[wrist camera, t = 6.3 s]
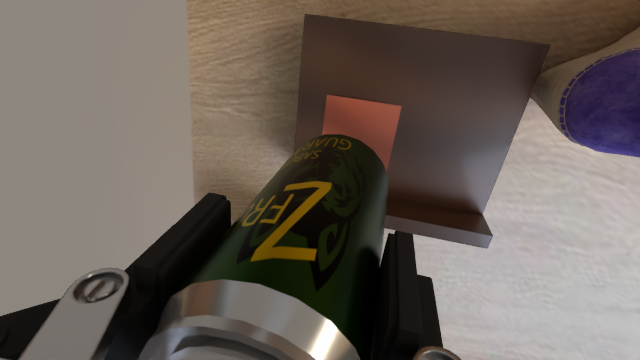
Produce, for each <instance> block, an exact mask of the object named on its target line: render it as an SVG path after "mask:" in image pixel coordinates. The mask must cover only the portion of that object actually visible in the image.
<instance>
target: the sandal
mask: <svg viewBox="0 0 640 360" xmlns="http://www.w3.org/2000/svg"><path fill="white" fill-rule="evenodd" d="M530 97H531V98H532V99H533V100H534V101H535V102H536V103H537V104H538V105H539V107H540V108H541V109H542V110H543V111H544V112H545V114H546V115H547V116H548V117H549V119H550V120H551V121H552V122H553V124H554V125H555V126H556V127H557V129H558V130H559V131H560V132H561V133H562V134H563V135H564V136H566V137H567V138H568V139H569V140H570V141H572V142H574V143H577V144H580V145H581V146H586V147H589V148H591V149H593V150H596V151H599V152H605V153H612V154H620V155H627V156H634V157H640V25H639V26H637V27H636V28H635V29H634V30H632V31H631V32H630V33H628V34H627V35H625V36H623V37H622V38H620V39H618V40H617V41H615V42H613V43H611V44H609V45H607V46H605V47H603V48H601V49H599V50H597V51H595V52H593V53H590V54H587V55H585V56H582V57H579V58H577V59H571V60H568V61H565V62H562V63H560V64H557V65H555V66H552V67H550V68H547V69H545V70H543V71H541V72H539V75H538V77H537V80H536V82H535V85H534V87H533V90H532V92H531V95H530Z"/></svg>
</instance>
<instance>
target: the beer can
mask: <svg viewBox="0 0 640 360" xmlns="http://www.w3.org/2000/svg"><path fill="white" fill-rule="evenodd" d="M387 196H388V176H387V173H386V170H385V166H384V163H383V162H382V161H381V159H380V158H379V157H378V155H377V154H376V153H375V151H374V150H373V149H371V148H370V147H369V146H367V145H366V144H364V143H363V142H362V141H360V140H358V139H355V138H352V137H349V136H346V135H343V134H325V135H321V136H318V137H315V138H312V139H310V140H308V141H307V142H306V143H304V144H303V145H301V146H300V147H299V148H298V149H297V150H296V151H295V152H294V153H293V155H292V156H291V157H290V158H289V159H288V160H287V162H286V163H285V164H284V165H283V166H282V167H281V169H280V170H279V171H278V172H277V173H276V174H275V176H274V177H273V178H272V179H271V180H270V181H269V183H268V184H267V185H266V186H265V187H264V188H263V190H262V191H261V192H260V193H259V194H258V195H257V197H256V198H255V199H254V200H253V201H252V202H251V204H250V205H249V206H248V207H247V208H246V209H245V211H244V212H243V213H242V214H241V215H240V216H239V218H238V219H237V220H236V221H235V222H234V223H233V225H232V226H231V227H230V228H229V229H228V230H227V232H226V233H225V234H224V235H223V236H222V237H221V239H220V240H219V241H218V242H217V243H216V244H215V246H214V247H213V248H212V249H211V250H210V251H209V253H208V254H207V255H206V256H205V257H204V259H203V260H202V261H201V262H200V263H199V264H198V266H197V267H196V268H195V269H194V270H193V271H192V273H191V274H190V275H189V276H188V277H187V278H186V280H185V281H184V282H183V283H182V284H181V285H180V287H179V288H178V289H177V290H176V291H175V292H174V294H173V295H172V296H171V297H170V299H169V301H168V303H167V304H166V306H165V308H164V309H163V311H162V313H161V315H160V319H159V323H158V327H157V330H156V331H155V333H154V334H153V335H152V336H151V338H150V339H149V340H148V342H147V344H146V345H145V347H144V349H143V350H142V352H141V354H140V355H139V360H371V352H372V342H373V333H374V323H375V313H376V303H377V294H378V282H379V271H380V264H381V255H382V245H383V235H384V226H385V216H386V206H387Z"/></svg>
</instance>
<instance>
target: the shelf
mask: <svg viewBox="0 0 640 360" xmlns="http://www.w3.org/2000/svg"><path fill="white" fill-rule="evenodd" d="M549 47H550V44H546V43H538V42H530V41H523V40H515V39H505V38H497V37H489V36H481V35H473V34H465V33H457V32H448V31H440V30H432V29H424V28H416V27H408V26H400V25H392V24H383V23H375V22H367V21H359V20H351V19H343V18H335V17H328V16H320V15H310V14H305V19H304V32H303V44H302V57H301V70H300V83H299V96H298V108H297V121H296V134H295V147H294V152H295V151H296V150H297V149H298V148H299V147H300V146H301V145H303V144H304V143H306V142H307V141H308V140H310V139H312V138H315V137H318V136H321V135H325V134H343V135H346V136H349V137H352V138H355V139H358V140H360V141H362V142H363V143H364V144H366V145H367V146H369V147H370V148H371V149H373V150H374V151H375V153H376V154H377V155H378V157H379V158H380V159H381V161H382V162H383V163H384V166H385V170H386V173H387V176H388V196H387V206H386V216H385V226H384V228H387V229H392V230H397V231H402V232H407V233H412V234H417V235H422V236H427V237H432V238H437V239H442V240H447V241H452V242H457V243H462V244H467V245H472V246H477V247H482V248H488V246H489V244H490V241H491V239H492V237H493V235H492V233H491V231H490V229H489V227H488V225H487V223H486V221H485V219H484V216H483V215H482V214H483V212H484V209H485V207H486V204H487V202H488V199H489V197H490V194H491V192H492V189H493V187H494V184H495V182H496V179H497V177H498V174H499V172H500V169H501V167H502V164H503V162H504V159H505V157H506V154H507V152H508V150H509V147H510V145H511V142H512V140H513V137H514V135H515V132H516V130H517V127H518V125H519V122H520V120H521V117H522V115H523V112H524V110H525V107H526V105H527V102H528V100H529V97H530V95H531V92H532V90H533V87H534V85H535V82H536V80H537V77H538V75H539V72H540V70H541V67H542V65H543V62H544V60H545V57H546V55H547V52H548V50H549Z"/></svg>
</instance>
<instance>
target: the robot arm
mask: <svg viewBox="0 0 640 360" xmlns="http://www.w3.org/2000/svg"><path fill="white" fill-rule="evenodd" d="M230 227H231V203H230V201H229V200H227V198H226V196H225V195H220V194H215V193H208V194H207V195H206V196H205V197H203V198H202V199H201V200H200V201H199V202H198V203H197V204H196V205H195V206H194V207H193V208H192V209H191V210H190V211H188V212H187V213H186V214H185V215H184V216H183V217H182V218H181V219H180V220H179V221H178V222H177V223H176V224H175V225H173V226H172V227H171V228H170V229H169V230H168V231H167V232H165V233H164V234H163V235H162V236H161V237H160V238H159V239H158V240H157V241H156V242H155V243H154V244H152V245H151V246H150V247H149V248H148V249H147V250H146V251H145V252H144V253H143V254H142V255H141V256H140V257H139V258H137V259H136V260H135V261H134V262H133V263H132V264H131V265H130V266H129V267H128V268H127V269H126V270H125V271H123V270H120V269H118V268H103V269H99V270H95V271H92V272H89V273H87V274H85V275H83V276H81V277H80V278H78V279H77V280H76V281H75V282H74V283H73V284H72V285H71V286H70V287H69V288H68V289H67V291H66V292H65V294H64V295H63V297H62V298H61V299H58V300H54V301H51V302H47V303H44V304H41V305H37V306H34V307H30V308H27V309H23V310H20V311H16V312H13V313H10V314H7V315H3V316H0V360H139V355H140V354H141V352H142V350H143V349H144V347H145V345H146V344H147V342H148V340H149V339H150V338H151V336H152V335H153V334H154V333H155V331H156V330H157V327H158V323H159V319H160V315H161V313H162V311H163V309H164V308H165V306H166V304H167V303H168V301H169V299H170V297H171V296H172V295H173V294H174V292H175V291H176V290H177V289H178V288H179V287H180V285H181V284H182V283H183V282H184V281H185V280H186V278H187V277H188V276H189V275H190V274H191V273H192V271H193V270H194V269H195V268H196V267H197V266H198V264H199V263H200V262H201V261H202V260H203V259H204V257H205V256H206V255H207V254H208V253H209V251H210V250H211V249H212V248H213V247H214V246H215V244H216V243H217V242H218V241H219V240H220V239H221V237H222V236H223V235H224V234H225V233H226V232H227V230H228V229H229V228H230ZM371 360H461V359H460V358H459V357H458V356H457V355H455V354H454V353H452V352H451V351H449V350H447V349H444V348H443V344H442V338H441V332H440V325H439V319H438V313H437V307H436V301H435V295H434V289H433V283H432V279H431V278H430V277H426V276H421V275H417V270H416V260H415V251H414V242H413V234H411V233H407V232H402V231H397V230H396V231H395V233H394V234H390V233H389V234H388V237H387V241H386V245H385V249H384V253H383V257H382V261H381V265H380V271H379V282H378V294H377V303H376V313H375V323H374V333H373V342H372V352H371Z"/></svg>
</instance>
